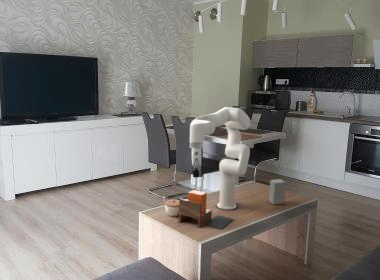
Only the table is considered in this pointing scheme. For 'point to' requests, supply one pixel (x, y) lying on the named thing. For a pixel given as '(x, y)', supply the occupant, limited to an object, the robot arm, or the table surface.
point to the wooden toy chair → (193, 212)
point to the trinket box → (172, 207)
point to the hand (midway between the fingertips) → (195, 174)
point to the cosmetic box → (277, 191)
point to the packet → (198, 198)
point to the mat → (219, 222)
